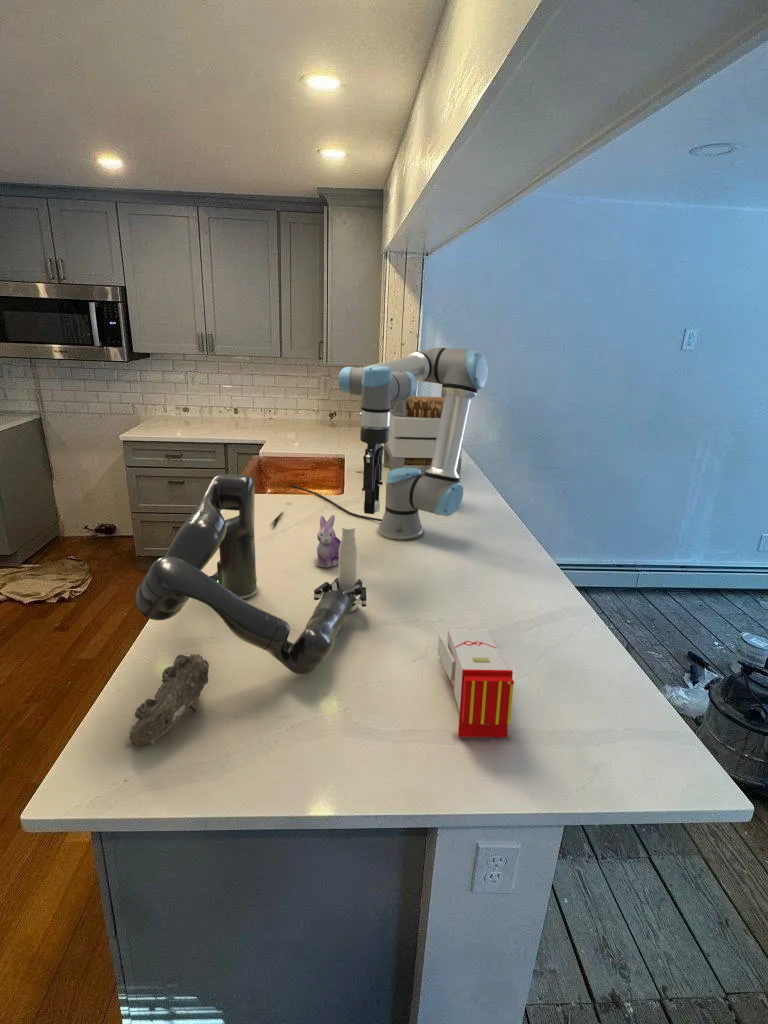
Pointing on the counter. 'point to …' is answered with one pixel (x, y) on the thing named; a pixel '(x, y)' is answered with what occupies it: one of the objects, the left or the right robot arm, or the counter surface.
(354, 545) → the bottle
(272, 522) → the feather
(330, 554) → the figurine
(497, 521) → the counter surface
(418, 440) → the grey slatted box
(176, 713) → the fossil
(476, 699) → the toy
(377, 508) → the cap
